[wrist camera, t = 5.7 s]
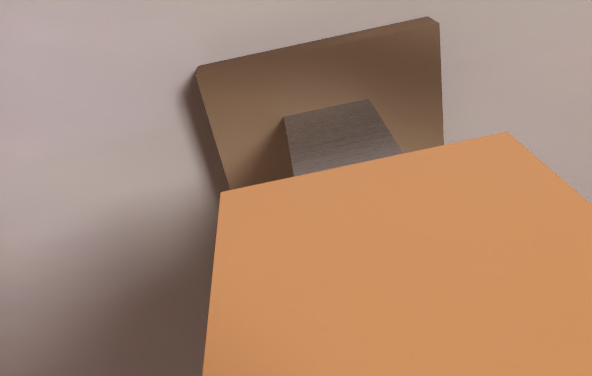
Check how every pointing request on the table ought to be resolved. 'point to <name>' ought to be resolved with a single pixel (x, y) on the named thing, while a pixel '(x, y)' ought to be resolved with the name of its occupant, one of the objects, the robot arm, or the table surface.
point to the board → (323, 94)
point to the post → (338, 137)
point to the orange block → (405, 269)
